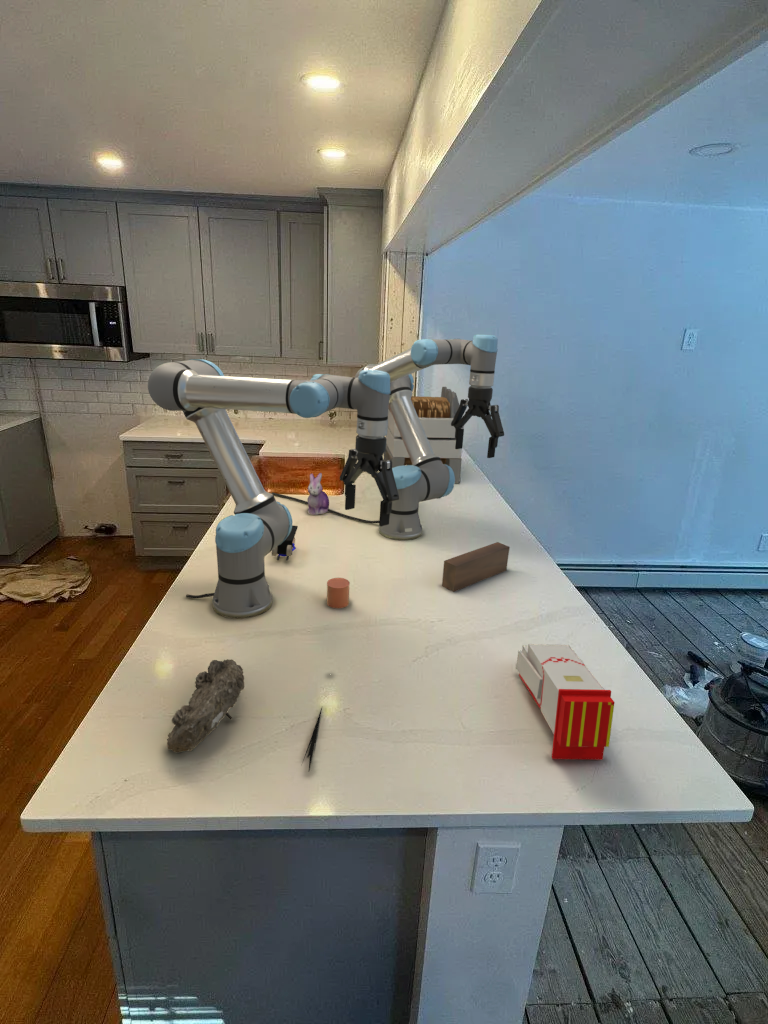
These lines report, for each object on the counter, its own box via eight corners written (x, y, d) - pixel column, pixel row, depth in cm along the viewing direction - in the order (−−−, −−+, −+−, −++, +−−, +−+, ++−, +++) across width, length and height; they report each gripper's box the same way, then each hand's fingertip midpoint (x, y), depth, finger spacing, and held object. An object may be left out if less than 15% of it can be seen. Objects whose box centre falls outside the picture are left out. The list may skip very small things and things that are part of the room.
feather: (331, 679, 122) (336, 673, 122) (307, 777, 96) (313, 769, 95) (324, 675, 122) (329, 669, 121) (298, 772, 95) (304, 764, 95)
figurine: (311, 517, 211) (311, 478, 206) (301, 508, 220) (301, 471, 215) (334, 513, 216) (335, 476, 211) (324, 505, 224) (324, 469, 219)
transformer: (382, 463, 289) (386, 382, 275) (445, 464, 293) (451, 384, 279) (390, 482, 257) (394, 392, 243) (460, 483, 261) (468, 394, 247)
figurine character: (292, 567, 173) (298, 543, 187) (292, 546, 170) (298, 523, 183) (270, 567, 173) (278, 542, 187) (269, 545, 170) (277, 522, 183)
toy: (564, 626, 126) (624, 698, 97) (558, 682, 129) (615, 767, 100) (510, 625, 126) (554, 696, 96) (506, 681, 128) (547, 766, 99)
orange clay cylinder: (322, 601, 152) (322, 581, 150) (340, 595, 156) (340, 575, 154) (335, 610, 148) (335, 590, 146) (353, 604, 151) (354, 583, 149)
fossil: (192, 660, 117) (244, 628, 112) (224, 691, 120) (276, 661, 115) (142, 746, 98) (202, 712, 93) (182, 779, 101) (242, 748, 96)
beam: (441, 585, 164) (444, 560, 161) (494, 565, 179) (497, 541, 176) (453, 592, 160) (456, 566, 158) (506, 570, 175) (509, 546, 173)
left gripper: (328, 426, 144) (325, 505, 152) (395, 448, 128) (388, 535, 135) (351, 424, 149) (347, 500, 157) (418, 445, 132) (410, 529, 140)
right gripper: (443, 382, 183) (438, 446, 190) (505, 392, 166) (497, 463, 173) (459, 381, 188) (453, 443, 195) (520, 391, 170) (512, 459, 178)
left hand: (366, 516), depth 146 cm, fingers open, 13 cm apart
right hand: (474, 453), depth 184 cm, fingers open, 13 cm apart
